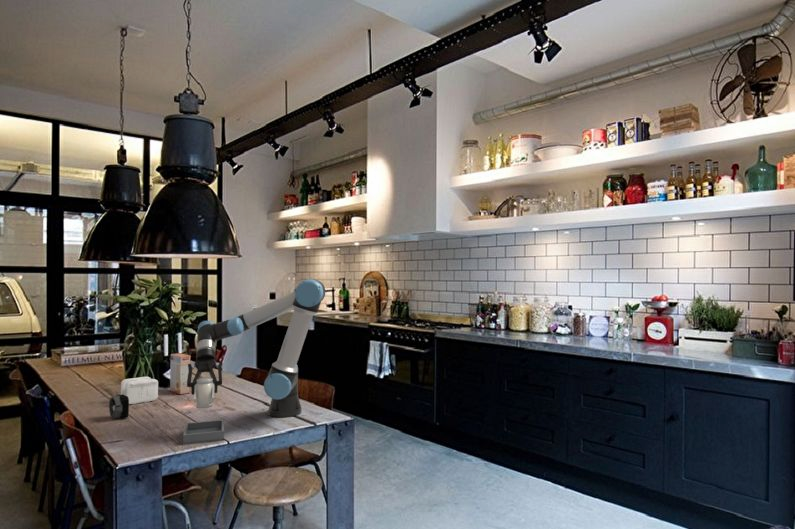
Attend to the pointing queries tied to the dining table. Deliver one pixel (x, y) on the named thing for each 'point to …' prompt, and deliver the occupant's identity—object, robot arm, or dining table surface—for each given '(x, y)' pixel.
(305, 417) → the dining table surface
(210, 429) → the parts tray
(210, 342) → the robot arm
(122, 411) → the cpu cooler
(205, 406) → the grey lidded jar
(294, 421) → the dining table surface
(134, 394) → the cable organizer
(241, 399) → the dining table surface
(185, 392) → the cracker box
